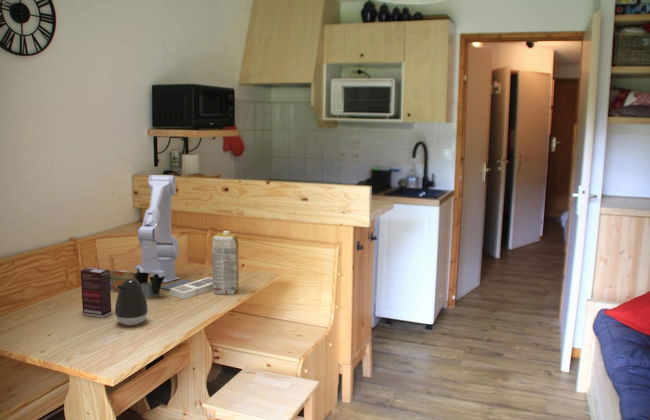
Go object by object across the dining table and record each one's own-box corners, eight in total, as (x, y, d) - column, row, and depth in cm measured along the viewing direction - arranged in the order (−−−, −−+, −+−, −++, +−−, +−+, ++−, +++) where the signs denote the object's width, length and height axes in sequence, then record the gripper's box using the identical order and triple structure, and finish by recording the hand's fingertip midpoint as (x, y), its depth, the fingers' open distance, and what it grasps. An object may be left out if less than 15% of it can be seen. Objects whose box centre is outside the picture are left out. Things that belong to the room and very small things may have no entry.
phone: (158, 290, 225) (158, 287, 225) (183, 281, 237) (183, 278, 237) (171, 292, 222) (171, 290, 222) (195, 283, 234) (195, 281, 234)
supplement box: (112, 313, 197) (110, 269, 194) (102, 318, 192) (100, 272, 189) (91, 310, 199) (89, 266, 197) (81, 314, 195) (79, 269, 192)
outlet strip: (169, 295, 218) (169, 287, 217) (214, 280, 237) (214, 273, 237) (183, 299, 213) (183, 291, 213) (228, 284, 233) (228, 277, 232)
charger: (141, 296, 216) (141, 283, 215) (151, 293, 219) (150, 280, 219) (149, 298, 213) (149, 285, 212) (158, 295, 217) (158, 282, 216)
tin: (104, 290, 222) (103, 269, 220) (110, 288, 225) (109, 267, 223) (135, 295, 216) (135, 274, 215) (141, 293, 219) (140, 272, 218)
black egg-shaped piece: (108, 325, 186) (106, 280, 184) (132, 315, 195) (131, 272, 193) (131, 331, 182) (129, 285, 179) (154, 321, 191) (153, 277, 188)
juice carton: (240, 289, 226) (239, 230, 222) (234, 295, 219) (234, 234, 215) (217, 288, 227) (216, 229, 223) (211, 294, 220) (210, 233, 216)
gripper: (127, 256, 215) (129, 290, 217) (153, 262, 207) (154, 298, 209) (143, 252, 220) (144, 286, 223) (168, 258, 212) (169, 293, 215)
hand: (150, 292), depth 216 cm, fingers open, 6 cm apart
